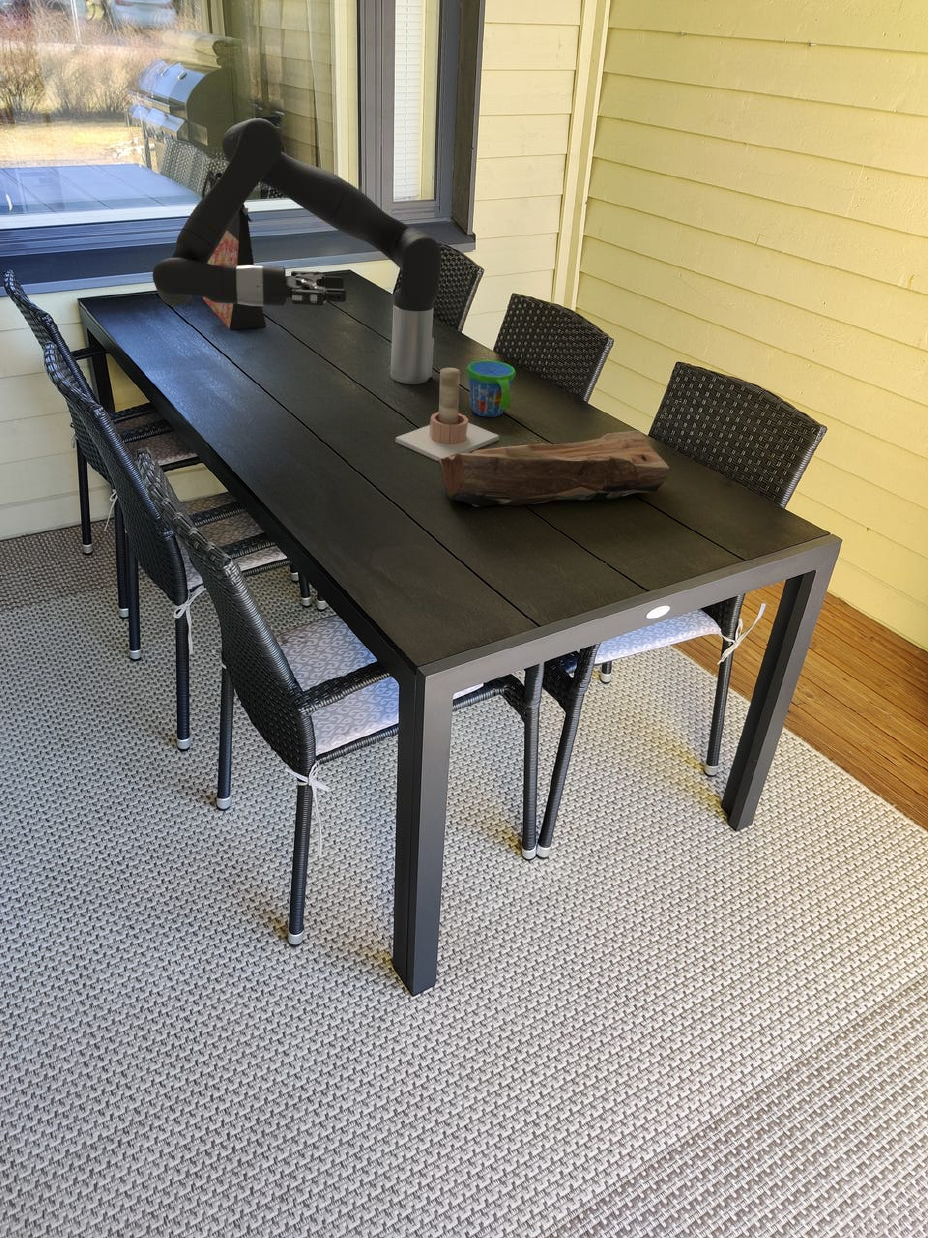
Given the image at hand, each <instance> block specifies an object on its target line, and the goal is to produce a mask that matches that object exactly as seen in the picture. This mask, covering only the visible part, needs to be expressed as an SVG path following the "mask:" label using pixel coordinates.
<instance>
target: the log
mask: <svg viewBox="0 0 928 1238" xmlns="http://www.w3.org/2000/svg"><path fill="white" fill-rule="evenodd" d="M438 460H439V462H438V464H439V465H438V466H439V469H440V474H441V477H442V481H443V484H444V488H445V489H444V490H445V492H446V495H447V498H449V499H450V500H451V501H460V502H463V503H466V504H468V505H471V506H474V507H479V508H480V507H485V506H486V507H487V506H491V505H497V504H499V505H506V506H509V505H510V506H523V505H531V504H533V505H534V504H542V503H548V502H553V501H554V502H559V501H560V502H562V501H564V502H565V501H566V502H567V501H574V502H575V501H576V502H577V501H578V502H579V501H614V500H616V499H619V498H622V497H625V496H630V495H632V494H635V493H655V492H659V490H660V488H661V487H662V486H663V484H664V483H665V482H666V481H667V477H668V474H669V471H670V466H668V464H667V463H666V461H665V460H664V459H663V458H662V457H661V456H660V455H659V454H658V453H657V451H655V450H654V448H653V447H652V446H651V444H650V443H649V441H648V439H647V438H646V436H645V435H644V434H643V433H642V432H641V431H640V430H639V429H638V430H627V431H619V432H609V433H606V434H604V435H603V436H601V437H600V438H595V439H591V440H584V441H579V442H571V443H559V444H558V443H535V444H534V443H533V444H531V443H530V444H524V445H523V444H521V445H512V446H511V445H510V446H501V447H494V448H485V449H484V448H483V449H482V448H481V449H476V450H473V451H471V452H468V453H458V454H456V456H454V457H451V456H447V457H445V458H439V459H438Z"/></svg>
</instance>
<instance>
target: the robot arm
mask: <svg viewBox="0 0 928 1238" xmlns="http://www.w3.org/2000/svg"><path fill="white" fill-rule="evenodd" d="M221 143H222V146H221V147H222V151H223V154H224V157H225V160H227V162H228V164H227V166H226V168H225V169H224V171H223V172H222V173H221V174H222V175H221V177H220V178H218V179H219V180H218V181H217V182H216V184H215V185H214V186H213V187H212V188H211V189H210V188H209V191H208V192H207V193H206V194H205V196H204V197H203V199H202V198H201V200H200V201H199V202H198V203H197V204H196V206H195V208H194V209H193V210H192V212H191V213H190V215H189V216H188V218H187V220H186V221H185V223H184V225H183V227H182V228H181V230H180V231H179V234H178V236H177V238H176V241H175V242H176V243H175V249H174V252H173V254H172V257H170V258H165V259H162V260H160V261H159V262H157V263H156V265H154V268H153V269H152V281H153V283H154V286H155V287H154V288H155V289H156V292H157V294H158V296H159V298H160V299H161V300H162V301H163V302H164V303H165V304H167V305H169V306H171V307H172V306H173V307H180V306H182V305H185V304H186V303H188V302H189V301H190V300H191V299H192V297H193V296H195V297H196V296H197V297H202V298H203V297H206V298H208V299H209V300H210V301H212V302H216V303H232V304H237V303H238V304H244V305H250V306H262V307H279V308H284V307H286V306H287V298H291V304H292V305H307V306H323V305H324V304H325V303H327V302H339V303H342V302H343V303H345V302H346V301H347V291H346V289H344V285H345V284H344V283H345V279H344V277H342V276H330V275H329V276H328V275H325V274H322V272H321V271H305V270H303V271H302V270H300V271H298V270H291V271H290V276H287V275H286V268H285V266H281V265H280V266H279V265H257V264H254V265H242V266H237V267H236V266H230V265H210V264H207V263H208V261H209V259H210V258H211V256H212V255H213V253H214V252H215V250H216V248H217V247H218V245H219V243H220V242H221V240H222V238H223V236H224V234H225V233H226V231H227V229H228V228H229V226H230V224H231V223H232V221H233V219H234V218H235V216H236V214H237V213H238V211H239V210H240V208H241V207H242V205H243V204H244V205H245V202H246V201H247V200H248V198H249V197H250V196H251V194H252V193H253V191H254V190H255V189H256V187H257V186H258V185H259V183H261V184H263V185H265V186H267V187H269V188H271V189H273V190H275V191H277V192H278V193H280V194H282V195H284V196H285V197H286V198H288V199H289V200H291V201H292V202H294V203H295V204H297V206H300V208H301V207H302V209H305V210H307V211H308V212H309V213H311V214H312V215H314V216H315V217H317V218H318V219H320V220H321V221H323V222H324V223H326V224H327V225H329V226H331V227H332V228H334V229H336V230H338V231H339V232H341V233H343V234H345V235H348V236H350V237H353V238H355V239H358V240H361V241H363V242H365V243H368V244H369V245H370V246H372V247H374V248H375V249H376V250H378V251H379V252H380V253H382V254H383V255H384V256H385V257H387V258H388V259H389V260H390V261H392V263H394V265H396V267H398V268H400V270H401V284H400V288H396V290H395V292H394V294H393V313H392V333H391V334H392V335H391V336H392V337H391V356H390V358H391V359H390V376H389V377H390V378H391V379H392V380H393V381H396V382H397V383H401V384H406V385H419V384H423V383H426V382H428V381H429V380H430V378H431V377H432V376H433V366H434V365H433V364H434V363H433V362H434V349H435V348H434V347H435V338H434V337H433V323H434V306H435V300H436V298H437V295H438V293H439V287H440V279H441V268H442V252H441V247H440V245H439V243H438V242H437V240H435V239H434V238H433V237H432V236H430V235H428V234H427V233H425V232H423V231H421V230H420V229H417V228H415V227H413V226H410V225H408V224H406V223H404V222H402V221H400V220H398V219H397V218H394V217H393V216H391V215H389V214H388V213H386V212H384V211H383V209H381V208H380V207H379V206H378V205H377V204H376V203H375V202H374V201H373V200H372V199H371V198H370V197H369V196H368V195H366V194H365V193H363V191H361V190H360V189H359V188H357V187H356V186H355V185H353V184H351V183H350V182H348V181H347V180H345V179H344V178H342V177H340V176H339V175H337V174H335V173H333V172H330V171H328V170H325V169H323V168H321V167H317V166H315V165H312V164H309V163H305V162H303V161H300V160H298V159H296V158H293V157H292V156H289V155H288V154H286V153H285V152H283V140H282V136H281V134H280V131H279V130H278V128H277V127H276V126H275V124H273V123H272V122H271V121H269V120H267V119H265V118H261V117H260V118H259V117H258V118H256V117H254V118H249V119H247V120H244V121H241V122H239V123H236V124H234V125H233V126H231V127H230V128H229V129H227V131H226V132H225V133H224V135H223V138H222V141H221Z"/></svg>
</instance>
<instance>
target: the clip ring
mask: <svg viewBox="0 0 928 1238" xmlns="http://www.w3.org/2000/svg"><path fill="white" fill-rule="evenodd" d="M468 423H469V418H468V417H467V416H466V415H465V414H462V413H460V412H458V424H453V425H449V424H443V423H441V422H439V411H438V412H435V413H432V414H431V417H430V423H429V425H430V434H429V436H430V437H431V439H433V440H434V441H436V442H439V443H443V444H459V443H462V442H464V441H465V440H466V438H467V429H468Z"/></svg>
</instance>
